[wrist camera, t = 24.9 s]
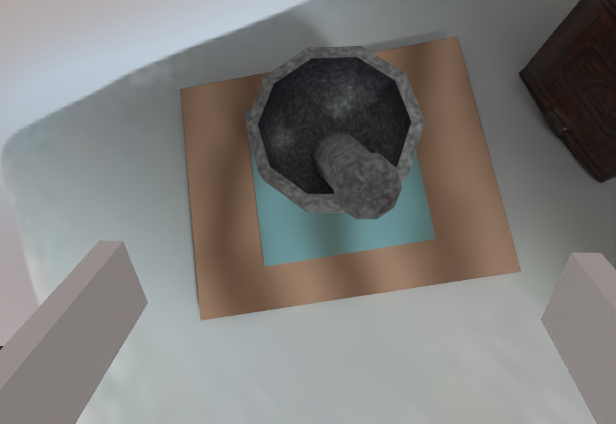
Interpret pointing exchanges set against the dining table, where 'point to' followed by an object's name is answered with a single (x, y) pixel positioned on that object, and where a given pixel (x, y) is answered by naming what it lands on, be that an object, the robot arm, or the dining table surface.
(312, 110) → the mortar and pestle
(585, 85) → the manual coffee grinder
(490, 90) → the dining table surface
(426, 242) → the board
